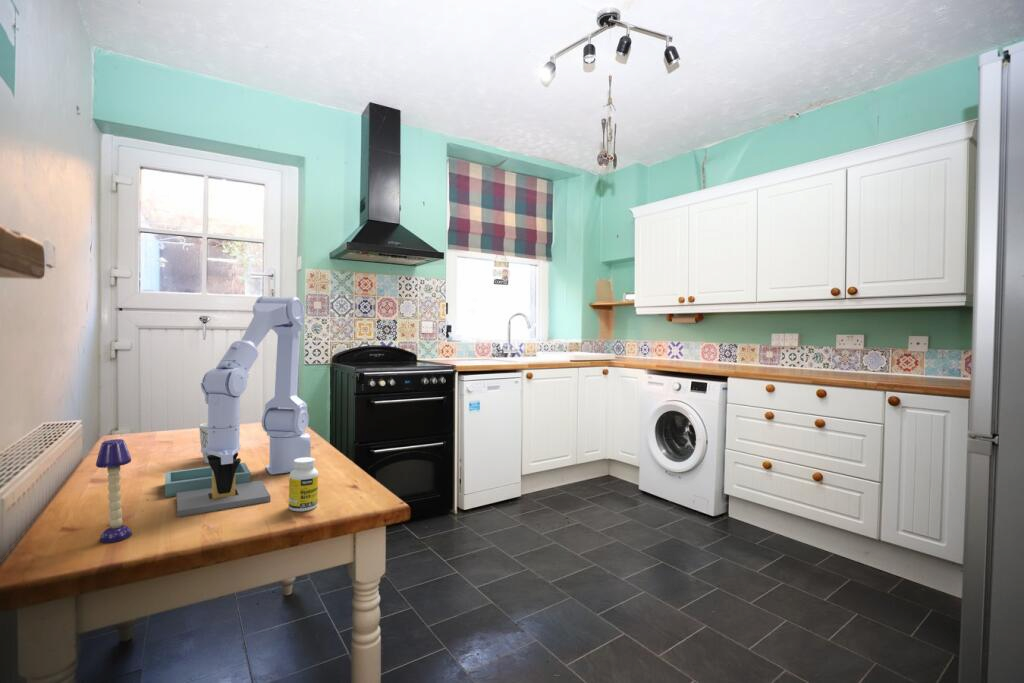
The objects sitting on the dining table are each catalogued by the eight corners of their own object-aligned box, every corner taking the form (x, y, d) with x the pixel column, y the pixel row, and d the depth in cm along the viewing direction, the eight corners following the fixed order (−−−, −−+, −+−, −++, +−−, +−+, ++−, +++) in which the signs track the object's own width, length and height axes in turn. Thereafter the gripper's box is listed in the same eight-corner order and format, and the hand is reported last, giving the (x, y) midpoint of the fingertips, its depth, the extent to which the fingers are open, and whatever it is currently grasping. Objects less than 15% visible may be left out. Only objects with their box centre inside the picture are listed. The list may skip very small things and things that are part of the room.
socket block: (261, 485, 112) (261, 480, 111) (270, 501, 102) (270, 495, 102) (176, 498, 102) (176, 492, 102) (177, 517, 92) (177, 510, 92)
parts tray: (244, 473, 120) (244, 462, 120) (250, 484, 112) (250, 472, 112) (165, 484, 111) (165, 472, 111) (164, 497, 103) (165, 484, 103)
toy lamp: (92, 545, 80) (92, 444, 80) (100, 534, 84) (100, 438, 84) (128, 540, 82) (128, 442, 82) (134, 529, 86) (135, 436, 86)
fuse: (233, 496, 104) (233, 463, 104) (235, 500, 102) (235, 467, 102) (211, 499, 102) (212, 466, 102) (212, 503, 100) (213, 469, 99)
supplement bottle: (299, 514, 95) (300, 464, 95) (283, 508, 98) (283, 460, 98) (323, 506, 100) (324, 458, 100) (307, 500, 103) (307, 454, 102)
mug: (188, 459, 132) (188, 422, 131) (221, 453, 139) (221, 418, 138) (208, 466, 125) (208, 428, 125) (241, 460, 132) (242, 423, 132)
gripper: (199, 421, 105) (198, 484, 106) (203, 434, 93) (202, 504, 94) (236, 418, 109) (236, 478, 110) (245, 430, 97) (244, 497, 98)
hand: (223, 490), depth 102 cm, fingers closed on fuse, 3 cm apart
